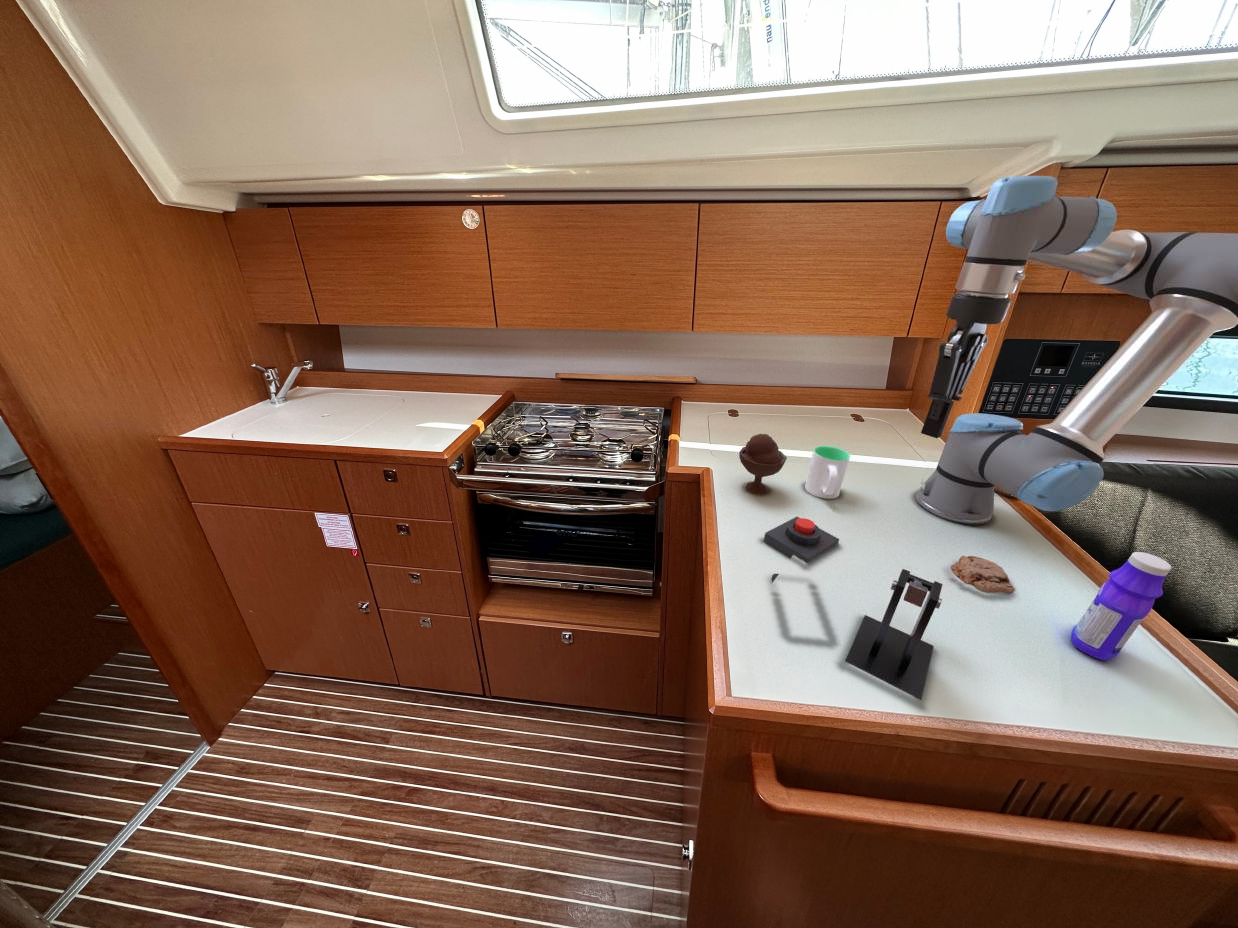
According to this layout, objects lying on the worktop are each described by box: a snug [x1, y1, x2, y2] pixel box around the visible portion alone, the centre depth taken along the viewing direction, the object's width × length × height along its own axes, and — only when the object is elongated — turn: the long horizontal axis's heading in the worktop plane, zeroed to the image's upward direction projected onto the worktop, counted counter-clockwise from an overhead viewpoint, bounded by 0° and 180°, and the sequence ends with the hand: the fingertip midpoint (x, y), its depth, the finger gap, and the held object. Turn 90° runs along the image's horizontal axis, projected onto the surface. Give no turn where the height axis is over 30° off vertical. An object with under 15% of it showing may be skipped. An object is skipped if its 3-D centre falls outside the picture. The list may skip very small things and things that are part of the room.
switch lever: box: [898, 570, 934, 608], centre depth 70 cm, size 12×5×2 cm, turn 142°
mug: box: [804, 445, 851, 500], centre depth 113 cm, size 12×8×10 cm
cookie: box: [950, 555, 1016, 594], centre depth 88 cm, size 10×11×3 cm
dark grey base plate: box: [763, 516, 840, 563], centre depth 96 cm, size 11×10×4 cm
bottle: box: [1070, 551, 1172, 661], centre depth 71 cm, size 7×6×17 cm
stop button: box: [794, 517, 816, 535], centre depth 95 cm, size 4×4×2 cm
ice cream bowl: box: [738, 433, 788, 495], centre depth 113 cm, size 11×11×15 cm
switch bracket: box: [844, 568, 943, 701], centre depth 68 cm, size 12×10×15 cm
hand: (930, 434), depth 83 cm, fingers closed
